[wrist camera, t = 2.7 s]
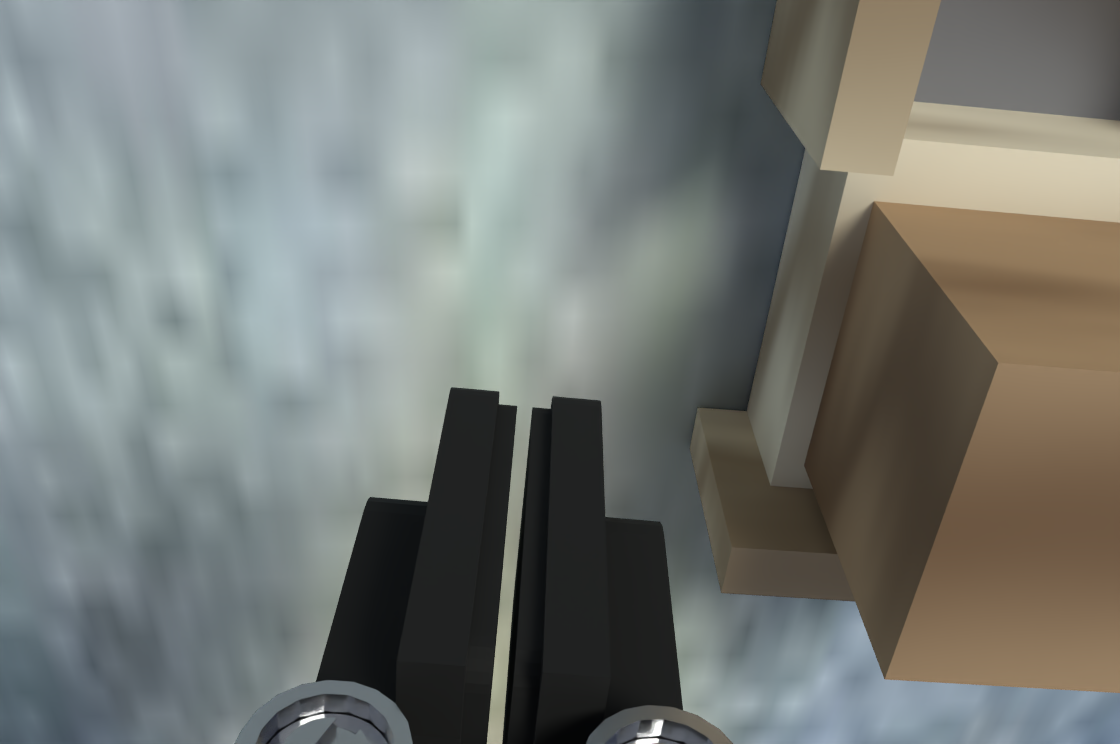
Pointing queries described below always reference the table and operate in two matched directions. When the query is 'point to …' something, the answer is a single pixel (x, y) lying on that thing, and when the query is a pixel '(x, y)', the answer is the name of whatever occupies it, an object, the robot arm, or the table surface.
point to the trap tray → (897, 177)
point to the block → (979, 447)
